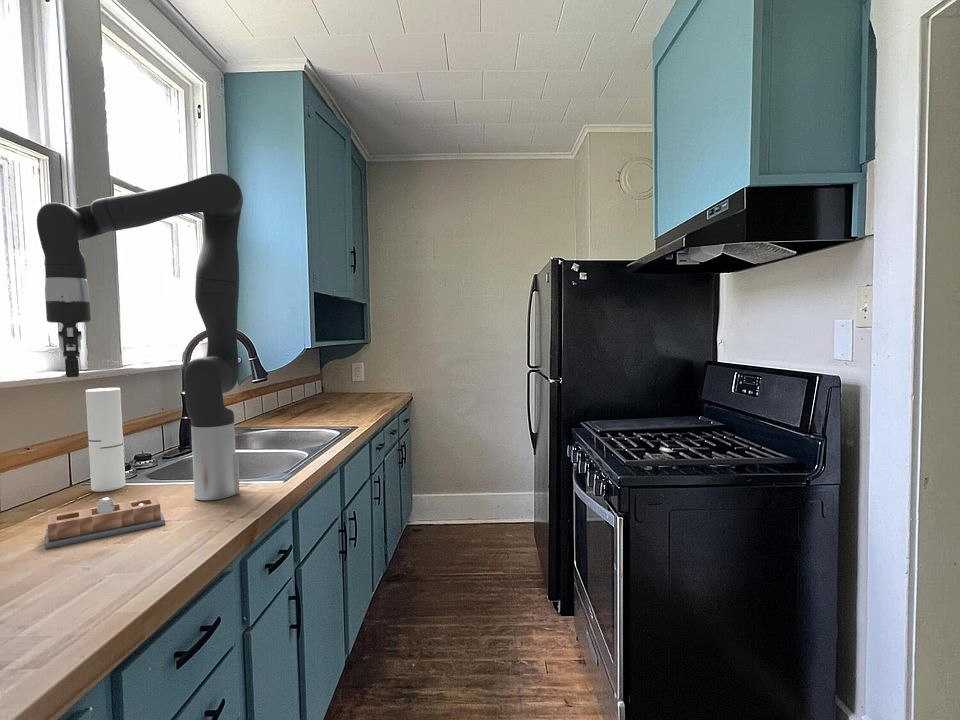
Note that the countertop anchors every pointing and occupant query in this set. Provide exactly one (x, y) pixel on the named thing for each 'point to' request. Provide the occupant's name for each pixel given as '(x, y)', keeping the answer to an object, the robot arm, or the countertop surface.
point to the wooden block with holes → (102, 518)
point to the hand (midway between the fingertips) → (72, 375)
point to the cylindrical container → (105, 439)
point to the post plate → (105, 507)
